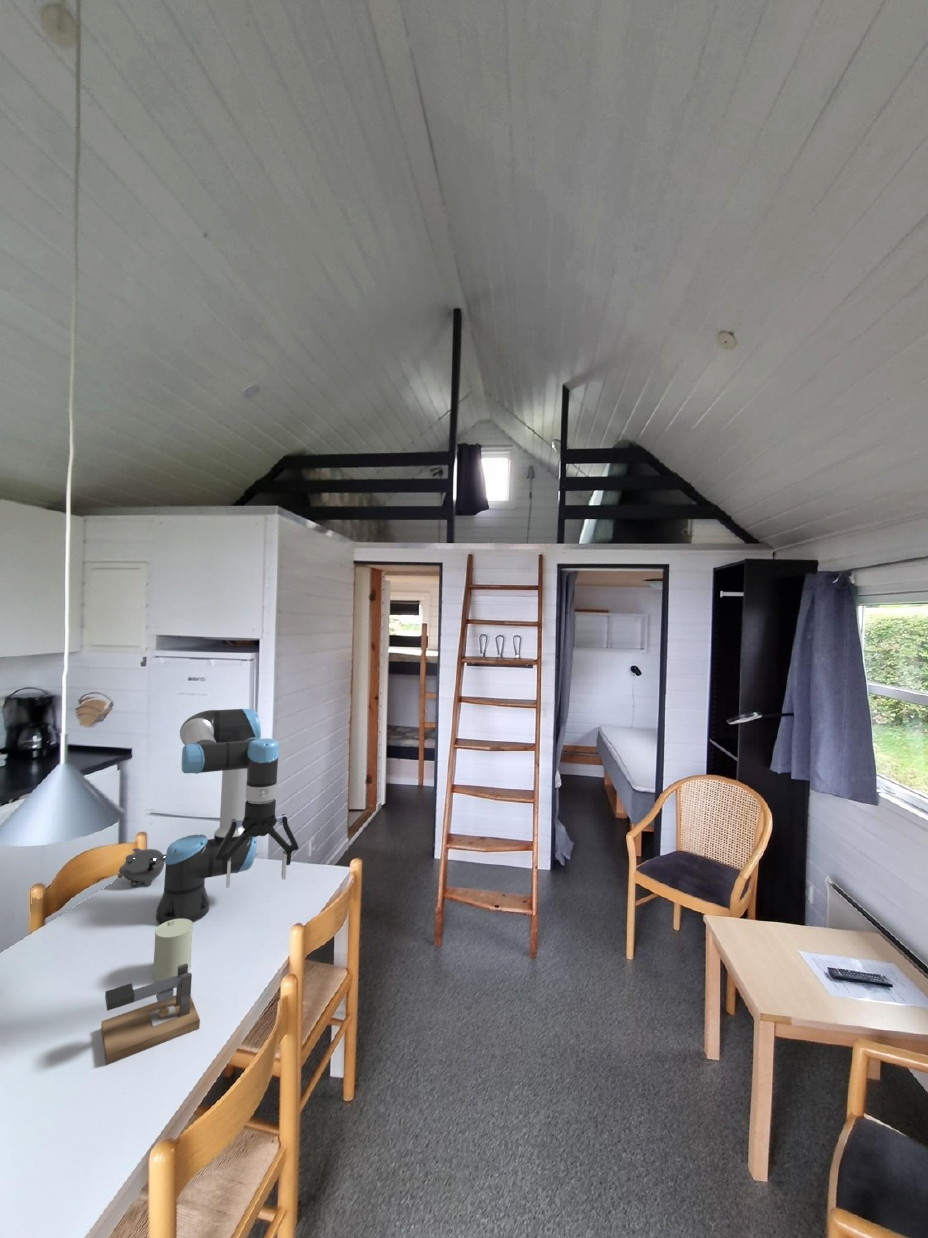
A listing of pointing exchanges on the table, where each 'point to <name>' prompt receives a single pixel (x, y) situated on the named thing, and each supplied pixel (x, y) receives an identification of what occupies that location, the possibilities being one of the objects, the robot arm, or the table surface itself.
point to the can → (172, 948)
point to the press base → (150, 1023)
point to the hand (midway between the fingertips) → (256, 881)
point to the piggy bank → (143, 866)
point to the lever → (142, 992)
